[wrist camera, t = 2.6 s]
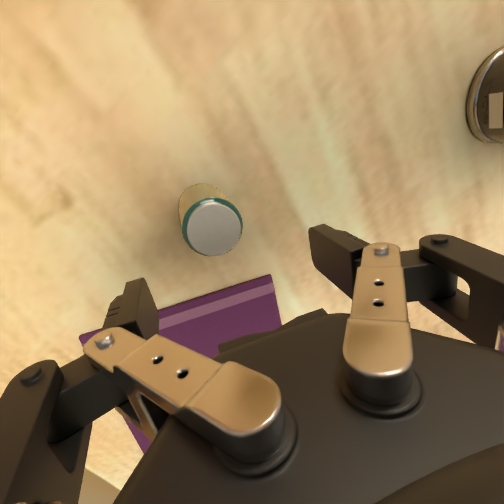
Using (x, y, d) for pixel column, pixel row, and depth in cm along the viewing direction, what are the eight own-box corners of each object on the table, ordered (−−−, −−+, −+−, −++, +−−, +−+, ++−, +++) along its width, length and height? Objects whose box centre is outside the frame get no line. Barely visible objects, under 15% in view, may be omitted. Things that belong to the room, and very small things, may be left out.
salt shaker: (219, 177, 28) (237, 192, 20) (230, 222, 29) (251, 250, 22) (172, 190, 27) (173, 209, 20) (186, 235, 29) (192, 268, 22)
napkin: (270, 273, 33) (271, 275, 32) (297, 401, 41) (298, 404, 40) (79, 335, 29) (78, 338, 29) (149, 461, 37) (149, 465, 37)
